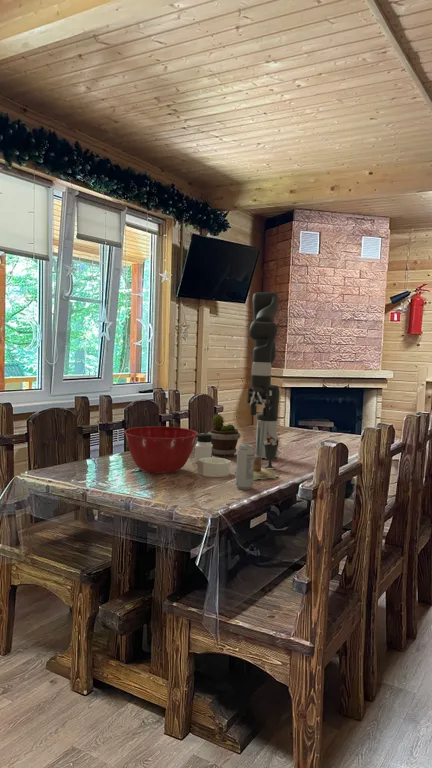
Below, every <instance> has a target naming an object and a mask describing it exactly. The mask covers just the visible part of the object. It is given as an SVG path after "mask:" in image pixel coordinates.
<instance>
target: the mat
mask: <svg viewBox="0 0 432 768" xmlns="http://www.w3.org/2000/svg"><path fill="white" fill-rule="evenodd" d="M235 473H236V471H235ZM274 477H280V476H279V475H277V474H275V473H274V475H273V476H271V477H265V478H260V477H253V481H258V480H257V479H261V480H267V479H266V478H273V479H275V478H274Z"/></svg>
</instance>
